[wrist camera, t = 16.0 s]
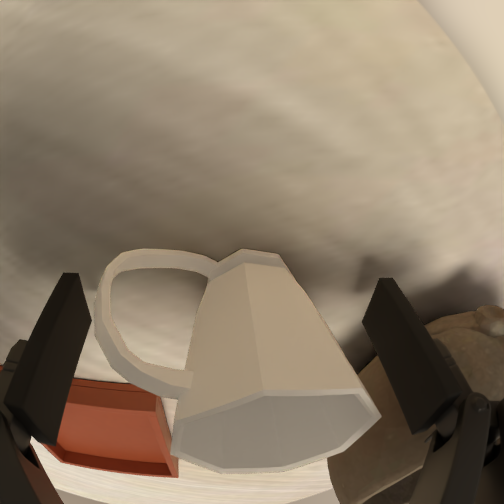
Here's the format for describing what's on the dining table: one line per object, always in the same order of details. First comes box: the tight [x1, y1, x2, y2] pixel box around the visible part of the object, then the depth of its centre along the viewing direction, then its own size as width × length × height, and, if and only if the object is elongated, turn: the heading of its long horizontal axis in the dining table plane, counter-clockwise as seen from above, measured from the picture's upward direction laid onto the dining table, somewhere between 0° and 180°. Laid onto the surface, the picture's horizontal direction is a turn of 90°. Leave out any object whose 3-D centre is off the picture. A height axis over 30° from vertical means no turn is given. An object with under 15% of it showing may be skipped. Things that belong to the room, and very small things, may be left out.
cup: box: [94, 248, 382, 474], centre depth 12 cm, size 7×10×8 cm
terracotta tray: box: [0, 365, 179, 478], centre depth 22 cm, size 15×13×2 cm
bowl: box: [327, 305, 504, 504], centre depth 18 cm, size 17×18×10 cm
